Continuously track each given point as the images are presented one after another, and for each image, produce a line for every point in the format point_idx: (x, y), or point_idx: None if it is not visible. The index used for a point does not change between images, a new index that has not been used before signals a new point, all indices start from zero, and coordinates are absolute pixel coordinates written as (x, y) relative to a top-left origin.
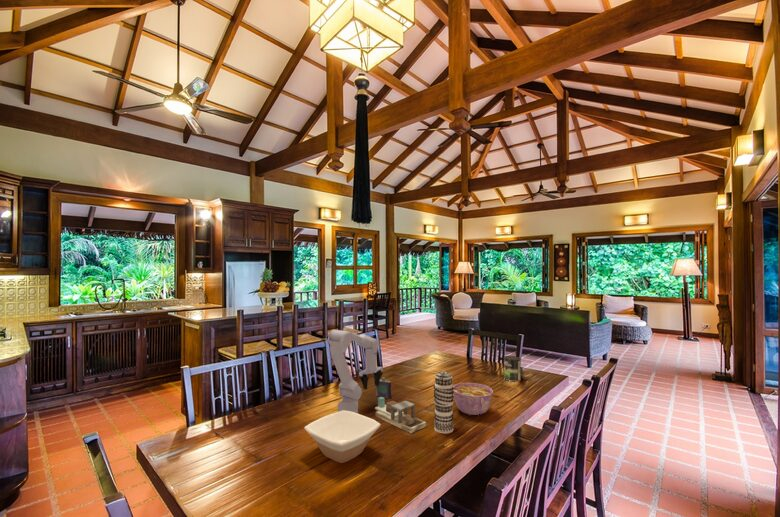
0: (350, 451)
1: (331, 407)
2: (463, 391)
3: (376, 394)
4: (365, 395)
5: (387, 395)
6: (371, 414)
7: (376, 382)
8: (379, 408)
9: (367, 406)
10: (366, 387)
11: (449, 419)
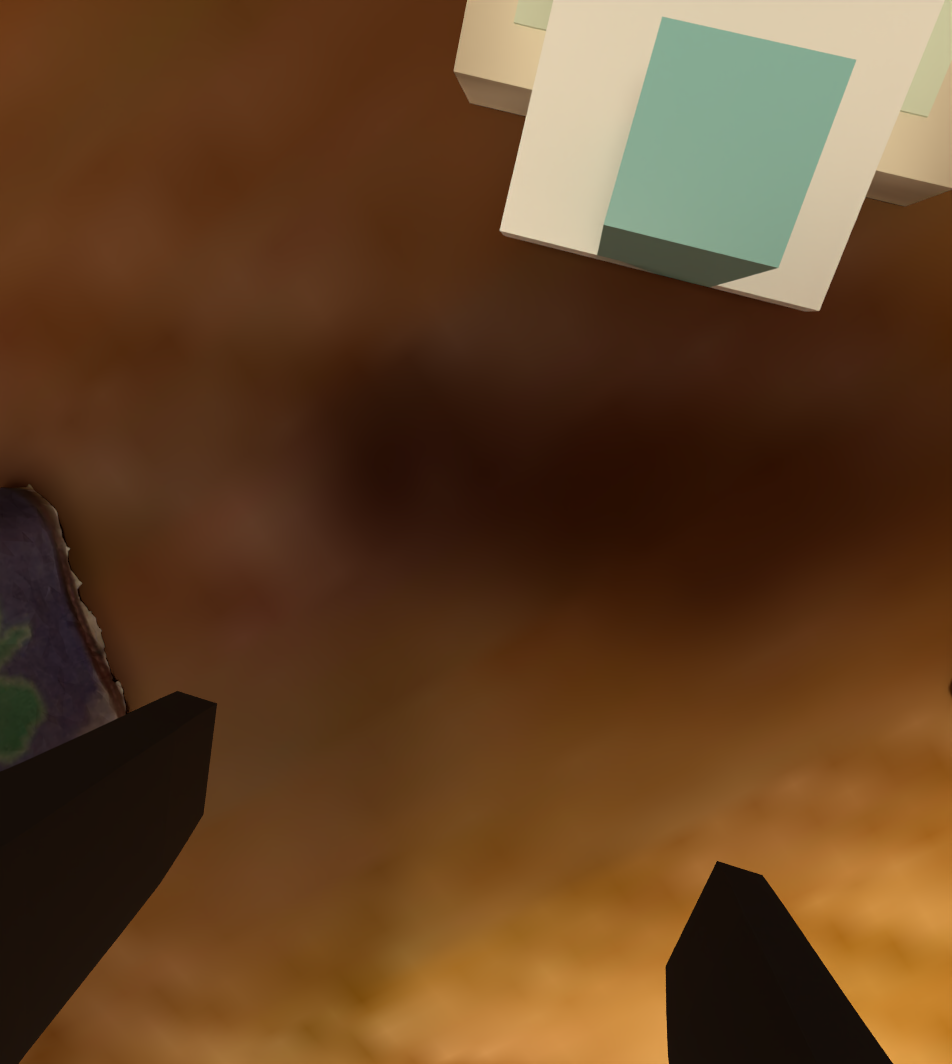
0: None
1: None
2: None
3: None
4: (214, 863)
5: (22, 543)
6: (848, 348)
7: (123, 842)
8: (829, 156)
9: (548, 625)
10: (799, 936)
11: None
